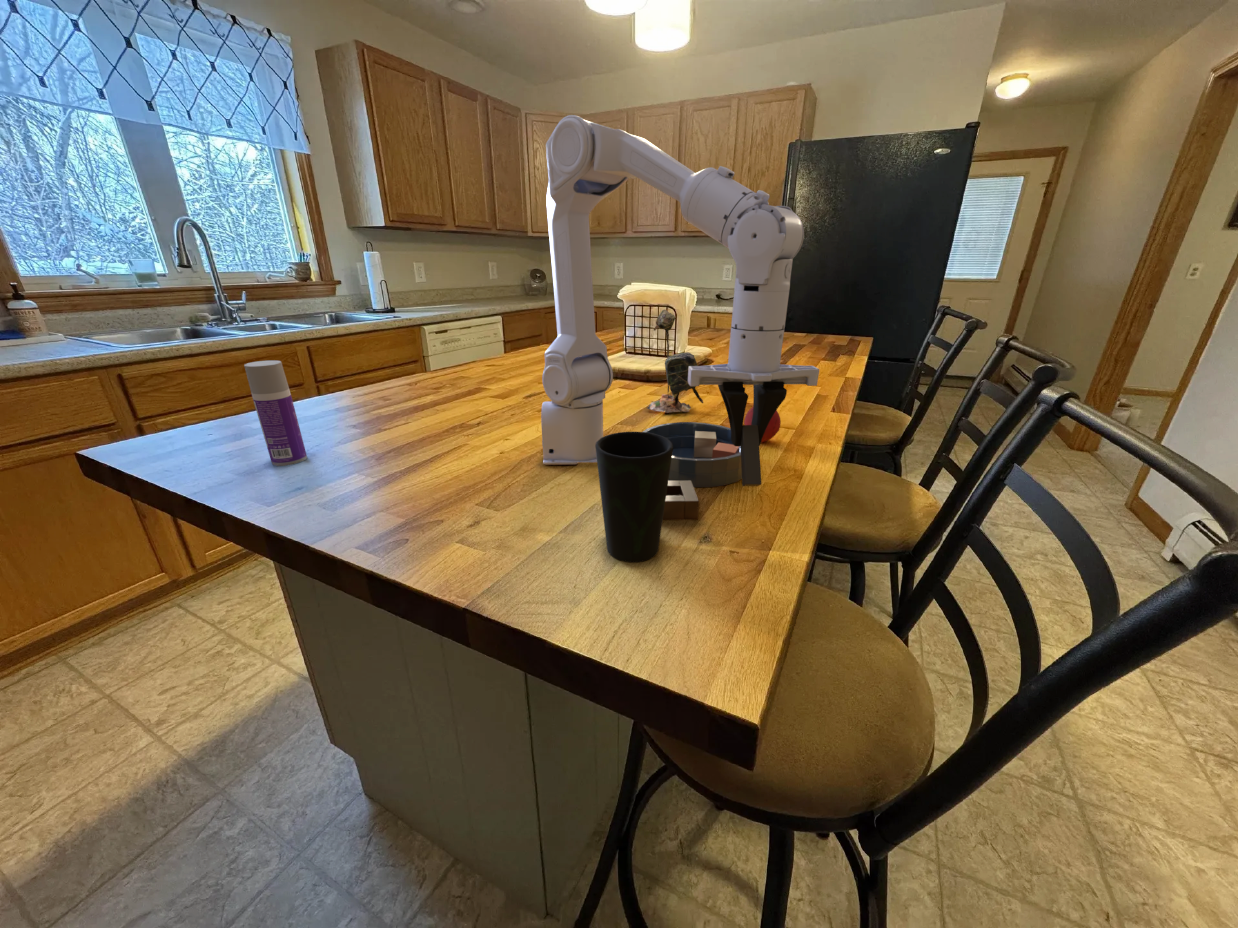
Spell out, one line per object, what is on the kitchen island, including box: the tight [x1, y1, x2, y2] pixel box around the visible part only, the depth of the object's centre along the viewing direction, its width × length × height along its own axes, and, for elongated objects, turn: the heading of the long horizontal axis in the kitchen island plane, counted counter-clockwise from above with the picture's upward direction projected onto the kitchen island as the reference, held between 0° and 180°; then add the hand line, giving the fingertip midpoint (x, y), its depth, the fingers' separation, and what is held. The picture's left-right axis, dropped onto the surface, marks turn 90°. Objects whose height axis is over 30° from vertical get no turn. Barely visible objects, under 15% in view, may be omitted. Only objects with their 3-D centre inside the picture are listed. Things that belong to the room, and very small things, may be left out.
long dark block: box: [740, 424, 762, 488], centre depth 57 cm, size 2×2×7 cm
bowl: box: [642, 421, 742, 488], centre depth 73 cm, size 16×16×4 cm
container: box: [244, 359, 308, 467], centre depth 73 cm, size 5×5×15 cm
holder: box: [663, 480, 700, 521], centre depth 60 cm, size 6×6×3 cm
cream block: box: [694, 431, 716, 458], centre depth 77 cm, size 3×3×3 cm
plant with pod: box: [646, 309, 704, 414], centre depth 97 cm, size 8×11×20 cm
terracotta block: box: [712, 443, 740, 458], centre depth 71 cm, size 3×3×3 cm
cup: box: [595, 431, 673, 563], centre depth 51 cm, size 8×8×12 cm
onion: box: [743, 406, 782, 444], centre depth 82 cm, size 6×6×8 cm
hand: (745, 443), depth 60 cm, fingers closed on long dark block, 2 cm apart
